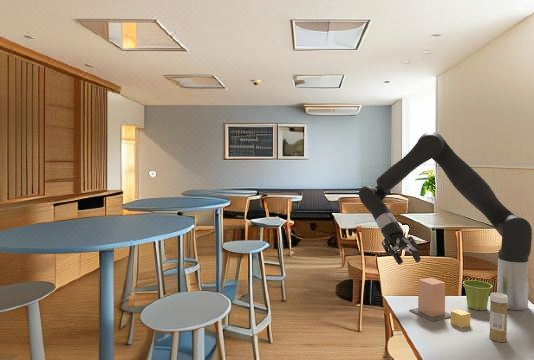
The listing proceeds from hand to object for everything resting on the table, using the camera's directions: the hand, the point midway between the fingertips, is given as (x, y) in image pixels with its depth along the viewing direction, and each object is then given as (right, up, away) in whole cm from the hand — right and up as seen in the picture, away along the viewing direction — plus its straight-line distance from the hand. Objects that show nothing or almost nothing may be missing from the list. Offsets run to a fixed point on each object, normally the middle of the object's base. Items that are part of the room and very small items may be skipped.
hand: (410, 262), depth 140 cm
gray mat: (+4, -16, -9) cm, 19 cm away
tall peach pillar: (+4, -16, -9) cm, 18 cm away
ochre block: (+10, -16, -17) cm, 26 cm away
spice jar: (+15, -17, -28) cm, 36 cm away
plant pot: (+23, -16, -3) cm, 28 cm away
